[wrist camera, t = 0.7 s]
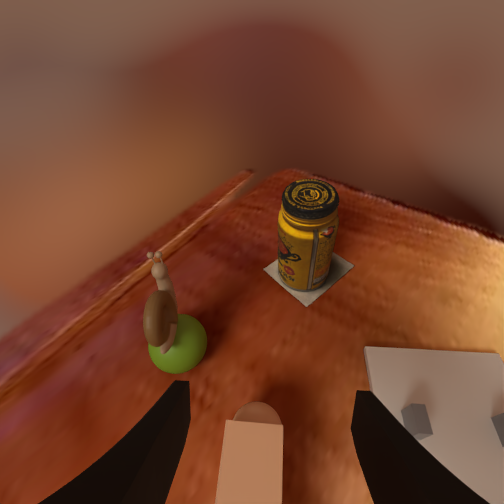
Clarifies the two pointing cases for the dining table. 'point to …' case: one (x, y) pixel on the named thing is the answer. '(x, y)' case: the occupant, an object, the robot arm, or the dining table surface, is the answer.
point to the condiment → (308, 240)
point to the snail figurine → (171, 327)
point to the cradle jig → (448, 408)
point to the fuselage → (252, 457)
